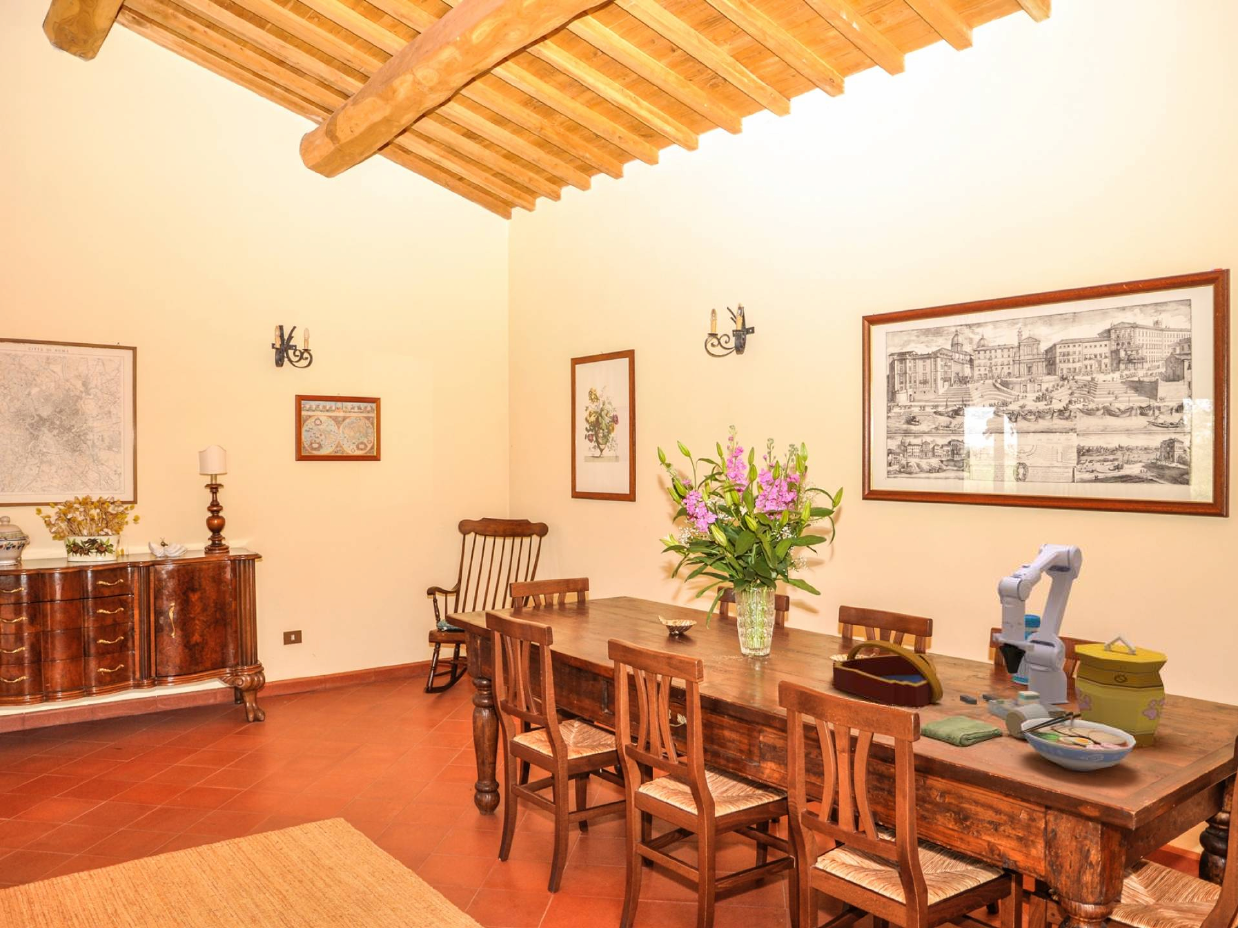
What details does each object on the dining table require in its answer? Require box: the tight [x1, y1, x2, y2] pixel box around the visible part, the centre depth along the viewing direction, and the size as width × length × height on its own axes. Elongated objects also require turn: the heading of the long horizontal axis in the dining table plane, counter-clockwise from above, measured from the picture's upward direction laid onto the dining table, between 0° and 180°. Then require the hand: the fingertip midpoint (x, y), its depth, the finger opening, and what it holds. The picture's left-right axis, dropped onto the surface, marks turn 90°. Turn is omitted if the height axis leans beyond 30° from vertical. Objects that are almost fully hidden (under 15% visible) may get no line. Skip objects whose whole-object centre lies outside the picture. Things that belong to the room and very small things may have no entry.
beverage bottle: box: [1011, 613, 1042, 686], centre depth 278 cm, size 8×8×20 cm
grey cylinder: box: [1004, 704, 1050, 740], centre depth 223 cm, size 11×8×8 cm
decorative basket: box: [832, 639, 944, 709], centre depth 265 cm, size 34×29×15 cm
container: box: [1074, 633, 1168, 748], centre depth 226 cm, size 21×21×25 cm
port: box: [988, 698, 1067, 720], centre depth 241 cm, size 14×12×4 cm
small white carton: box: [1017, 690, 1040, 707], centre depth 241 cm, size 4×3×6 cm
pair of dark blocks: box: [959, 693, 1000, 705], centre depth 256 cm, size 9×5×1 cm, turn 102°
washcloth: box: [920, 715, 1004, 747], centre depth 225 cm, size 13×18×3 cm
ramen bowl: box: [1017, 711, 1136, 772], centre depth 204 cm, size 25×23×8 cm
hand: (1012, 672), depth 248 cm, fingers closed
